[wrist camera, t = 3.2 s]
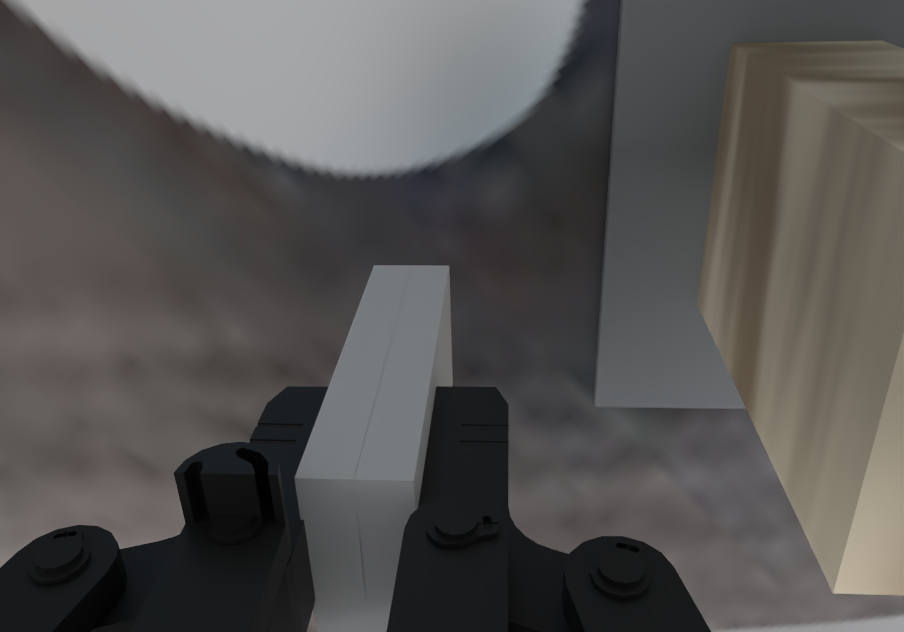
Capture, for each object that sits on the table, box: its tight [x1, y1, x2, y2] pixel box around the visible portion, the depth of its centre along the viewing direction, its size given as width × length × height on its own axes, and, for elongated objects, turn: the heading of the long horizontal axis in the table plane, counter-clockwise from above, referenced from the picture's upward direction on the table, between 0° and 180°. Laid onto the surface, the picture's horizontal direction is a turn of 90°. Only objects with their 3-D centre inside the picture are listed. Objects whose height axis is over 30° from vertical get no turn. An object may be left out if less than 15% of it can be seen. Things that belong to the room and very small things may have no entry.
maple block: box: [697, 40, 904, 595], centre depth 18 cm, size 4×8×12 cm, turn 1°
